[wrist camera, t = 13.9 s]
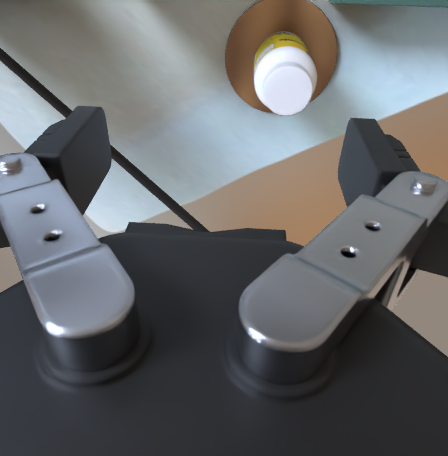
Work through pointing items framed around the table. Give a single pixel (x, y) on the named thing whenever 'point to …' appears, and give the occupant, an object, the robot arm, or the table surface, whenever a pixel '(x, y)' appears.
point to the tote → (396, 2)
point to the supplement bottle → (284, 73)
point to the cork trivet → (269, 24)
